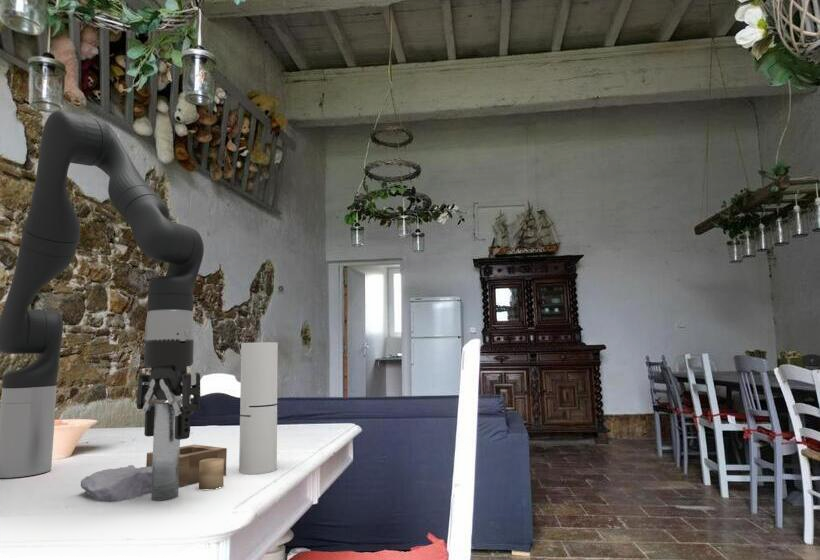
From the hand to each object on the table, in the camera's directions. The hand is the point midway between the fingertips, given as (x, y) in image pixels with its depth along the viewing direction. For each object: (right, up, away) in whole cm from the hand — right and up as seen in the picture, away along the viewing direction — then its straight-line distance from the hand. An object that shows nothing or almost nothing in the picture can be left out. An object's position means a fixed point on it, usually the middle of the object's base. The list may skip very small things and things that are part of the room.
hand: (166, 437), depth 87 cm
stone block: (-10, -11, +3) cm, 15 cm away
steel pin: (0, -9, -1) cm, 10 cm away
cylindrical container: (+10, -12, +17) cm, 23 cm away
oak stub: (+5, -10, +5) cm, 13 cm away
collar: (-2, -11, +12) cm, 17 cm away
